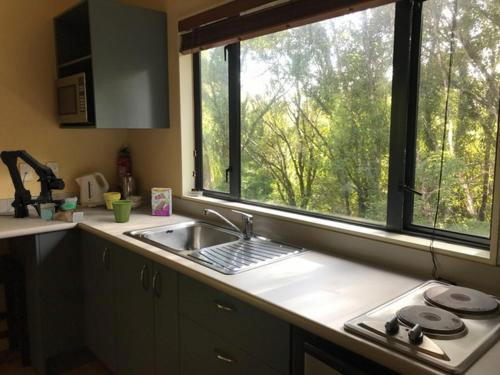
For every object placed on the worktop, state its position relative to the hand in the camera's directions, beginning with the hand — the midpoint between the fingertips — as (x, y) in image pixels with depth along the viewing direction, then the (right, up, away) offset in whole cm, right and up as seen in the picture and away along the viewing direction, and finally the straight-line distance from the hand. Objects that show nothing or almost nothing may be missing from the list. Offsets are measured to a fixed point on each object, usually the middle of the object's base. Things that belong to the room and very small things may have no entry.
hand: (47, 216), depth 245 cm
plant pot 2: (+45, -3, -7) cm, 46 cm away
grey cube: (+21, -3, -9) cm, 23 cm away
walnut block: (+10, -2, -3) cm, 11 cm away
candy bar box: (+64, 0, +10) cm, 64 cm away
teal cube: (0, -1, 0) cm, 1 cm away
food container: (+8, 0, +12) cm, 14 cm away
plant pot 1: (+27, +3, +32) cm, 42 cm away
